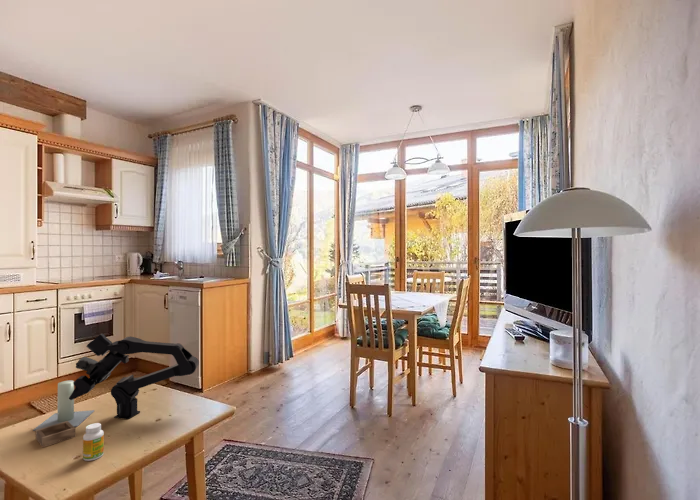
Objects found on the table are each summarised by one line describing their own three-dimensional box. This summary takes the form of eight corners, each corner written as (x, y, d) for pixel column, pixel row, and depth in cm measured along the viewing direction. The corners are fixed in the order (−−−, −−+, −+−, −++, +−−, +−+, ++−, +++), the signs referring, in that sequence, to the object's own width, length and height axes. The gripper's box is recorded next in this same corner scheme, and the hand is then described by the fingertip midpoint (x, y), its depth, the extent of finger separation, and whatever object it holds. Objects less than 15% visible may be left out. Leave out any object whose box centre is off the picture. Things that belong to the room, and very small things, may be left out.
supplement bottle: (93, 462, 115) (93, 430, 115) (78, 460, 116) (78, 428, 116) (107, 453, 120) (107, 422, 120) (93, 451, 121) (93, 421, 121)
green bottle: (74, 419, 143) (74, 382, 143) (57, 423, 140) (58, 385, 140) (73, 415, 147) (73, 379, 147) (57, 418, 143) (57, 382, 143)
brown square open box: (67, 429, 136) (67, 420, 136) (75, 436, 130) (75, 428, 130) (35, 438, 129) (35, 430, 129) (42, 447, 123) (42, 438, 123)
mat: (94, 411, 151) (94, 410, 151) (76, 426, 138) (76, 425, 138) (55, 414, 149) (55, 413, 149) (33, 430, 135) (33, 429, 135)
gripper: (102, 344, 154) (72, 373, 152) (79, 356, 136) (44, 389, 134) (123, 362, 156) (93, 390, 153) (103, 376, 138) (70, 409, 135)
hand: (76, 394), depth 144 cm, fingers open, 9 cm apart
